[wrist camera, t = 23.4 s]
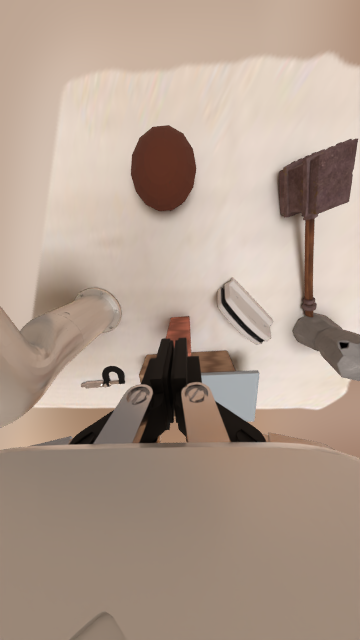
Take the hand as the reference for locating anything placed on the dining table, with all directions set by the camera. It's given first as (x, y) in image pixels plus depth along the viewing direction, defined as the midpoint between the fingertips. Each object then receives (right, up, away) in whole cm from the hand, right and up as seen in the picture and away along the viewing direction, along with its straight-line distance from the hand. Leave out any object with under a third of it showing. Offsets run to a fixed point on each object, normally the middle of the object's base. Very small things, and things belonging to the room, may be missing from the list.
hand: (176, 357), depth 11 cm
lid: (+11, -18, +32) cm, 38 cm away
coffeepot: (+37, 0, +35) cm, 50 cm away
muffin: (-2, +31, +24) cm, 39 cm away
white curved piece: (+17, +6, +33) cm, 37 cm away
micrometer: (-25, -16, +44) cm, 53 cm away
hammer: (+28, +18, +28) cm, 43 cm away
